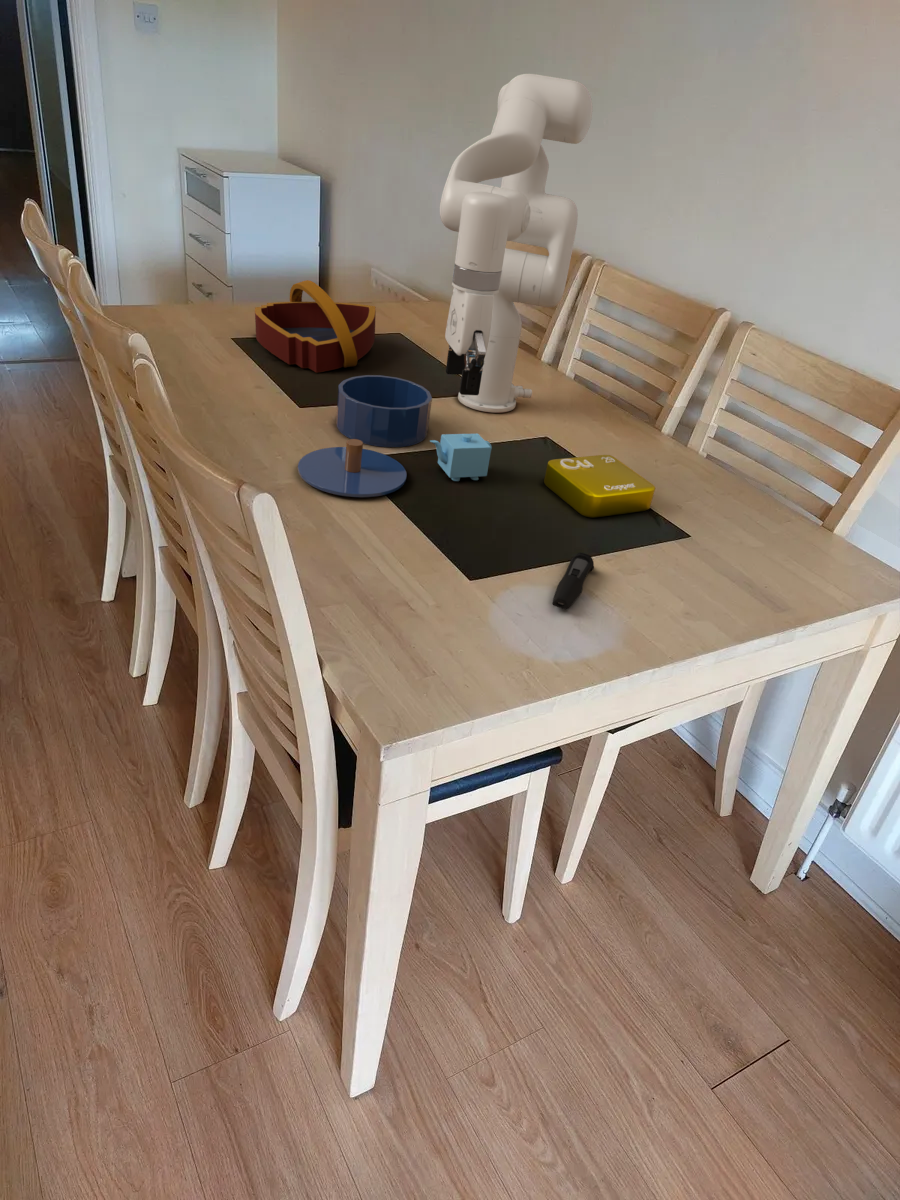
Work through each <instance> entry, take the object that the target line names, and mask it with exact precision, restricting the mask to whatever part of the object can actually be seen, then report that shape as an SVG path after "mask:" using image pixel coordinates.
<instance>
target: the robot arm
mask: <svg viewBox="0 0 900 1200" xmlns="http://www.w3.org/2000/svg"><path fill="white" fill-rule="evenodd" d="M496 106H497V107H496V108H497V114H496V117H495V120H494V123H493V126H492V128H491V132H490V134H488V135H486V136H484V137H482V138H480V139H479V140H477V141H475V142H474V143H472V144H471V145H470V146H468V147H467V148H466V149H464V150H463V151H461V152H460V153H459V154H458V156H456V158H455V160H454V161H453V162H452V165H451V166H450V170H449V171H448V172H449V173H448V175H447V178H446V181H445V183H444V187H443V190H442V192H441V197H440V202H439V218H440V221H441V223H442V225H443V226H444V227H445V228H446V229H448V230H450V231H452V232H457V233H458V235H457V242H456V251H455V257H454V267H453V273H452V279H451V280H452V281H451V287H453V290H452V293H451V298H450V305H449V309H448V315H447V321H446V326H445V332H444V338H445V340H446V342H447V344H448V350H447V358H446V364H445V365H446V366H445V373H446V374H447V375H459V376H461V377H460V378H461V379H460V385H459V392H458V395H457V399H458V401H459V403H461V404H462V405H464V406H465V407H467V408H470V409H473V410H476V411H479V412H485V413H496V414H497V413H498V414H500V413H501V414H502V413H508V412H510V411H512V410H514V409H515V408H516V405H517V401H516V400H517V399H518V398H523V399H531V398H532V396H533V390H532V389H531V388H524V386H522V385H515V384H513V379H514V376H515V375H514V374H515V369H516V364H517V363H516V362H517V357H518V351H519V346H520V340H521V334H522V328H523V323H522V318H521V315H520V312H519V310H518V308H517V307H516V305H515V303H517V304H518V303H520V304H525V305H530V306H536V307H543V308H555V307H556V306H558V305H560V302H561V301H562V299H563V297H564V293H565V288H566V285H567V279H568V275H569V270H570V264H571V259H572V254H573V249H574V244H575V239H576V233H577V227H578V221H579V218H578V216H579V215H578V207H577V204H576V203H575V202H574V201H573V200H572V199H570V198H568V197H566V196H561V195H555V194H549V193H546V185H547V180H548V173H549V168H550V164H549V160H548V156H547V154H546V151H545V150H544V147H543V145H542V141H543V140H547V141H553V142H559V143H565V144H571V145H577V144H579V143H581V142H583V141H584V139H585V137H586V136H587V134H588V132H589V130H590V127H591V124H592V123H591V122H592V119H593V118H592V117H593V101H592V97H591V93H590V91H589V89H588V88H587V87H586V86H585V85H584V84H583V83H582V82H579V81H577V80H574V79H568V78H563V77H562V78H561V77H555V76H550V75H545V74H538V73H537V74H536V73H522V74H518V75H516V76H515V77H513V78H512V79H511V80H510V81H509V82H508V83H506V84H504V85H503V86H501V88H500V89H499V93H498V97H497V103H496ZM500 178H501V183H500V186H495V185H490V184H484V183H481V182H484V181H488V180H494V179H500ZM507 242H513V243H517V244H522V245H528V246H533V247H540V248H544V249H546V251H547V252H548V255H544V254H539V253H534V252H529V251H524V250H519V249H514V248H507Z"/></svg>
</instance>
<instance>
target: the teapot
mask: <svg viewBox="0 0 900 1200" xmlns="http://www.w3.org/2000/svg"><path fill="white" fill-rule="evenodd" d="M429 442H430V443H431V444H433V445H434V446H435V448H436V450H435V451H436V455H437V464H438V465H439V466H440V468H441V469H442V470H443V472H445V474H446V475H447V476H448V478H450V479H451V480H452V481H453V482H459V481H461V478H470V479H471V480H473V481H478V480H480V478H479V477H487V476H488V472H489V471H488V470H489V464H490V459H491V453H492V450H493V449H492V448H493V447H492V444H491V443H490V442H489V441H488V440H485V439H484V438H483V437H482V436H481V435H480V434H479V433H445V434H444V433H443V434H441V435H440V442H439V441H438V440H435V439H432V440H431V439H430V440H429Z"/></svg>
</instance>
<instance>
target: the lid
mask: <svg viewBox="0 0 900 1200" xmlns="http://www.w3.org/2000/svg"><path fill="white" fill-rule="evenodd" d="M297 473H298V475H299V477H300V478H301V479H302V480H303V481H304V482H305V483H307V485H310V486H311V487H313V488H315V489H317V490H320V491H322V492H326V493H328V494H333V495H336V496H342V497H351V498H372V497H374V498H375V497H380V496H385V495H390V494H391V493H394V492H396V491H398V490H400V489H401V488H402V487H403V486H404V485H405V483H406V481H407V471H406V468H405V467H404V466H403V464H402V463H401V462H399V461H397V460H396V459H395V458H392V457H391V456H389V455H387V454H384V453H381V452H379V451H375V450H372V449H368V448H367V449H366V448H364V443H363V442H362V441H361V440H358V439H350V438H348V439H347V440H346V444H345V446H334V447H333V446H332V447H325V448H320V449H317V450H313V451H311V452H308V453H306V454H305V455H303V456H302V457H301V458H300V459H299V461H298V463H297Z"/></svg>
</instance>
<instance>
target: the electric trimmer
mask: <svg viewBox="0 0 900 1200" xmlns="http://www.w3.org/2000/svg"><path fill="white" fill-rule="evenodd" d="M594 569H595V564H594V559H593V558H592V556H591V555H590V554H587V553H585V552H577V553H576V554H574V556H572V557H571V558H570V560H569V564H568V566H567V569H566V571H565V573H564V574H563V577H562V578H561V579H560V581H559V582H558V584H557V586H556V589H555V593H554V595H553V598H552V602H551V603H552V604H551V605H552V606H554V607H557V608H559V609H563V610H566V611H567V610H569V609H570V608H571V607H572V606H573V604H574V603H575V602H576V601H577V599H578V598H579V597H580V596H581V594H582V593H583V586H584V582H585V581H586V578H587V576H588V575H589V572H593V571H594Z"/></svg>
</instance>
